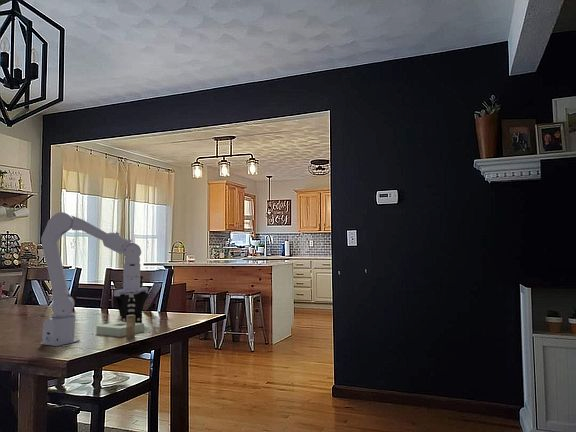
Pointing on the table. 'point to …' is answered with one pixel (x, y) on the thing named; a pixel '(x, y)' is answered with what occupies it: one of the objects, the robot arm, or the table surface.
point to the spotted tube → (133, 305)
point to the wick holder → (117, 329)
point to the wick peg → (130, 326)
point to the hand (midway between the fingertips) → (131, 314)
